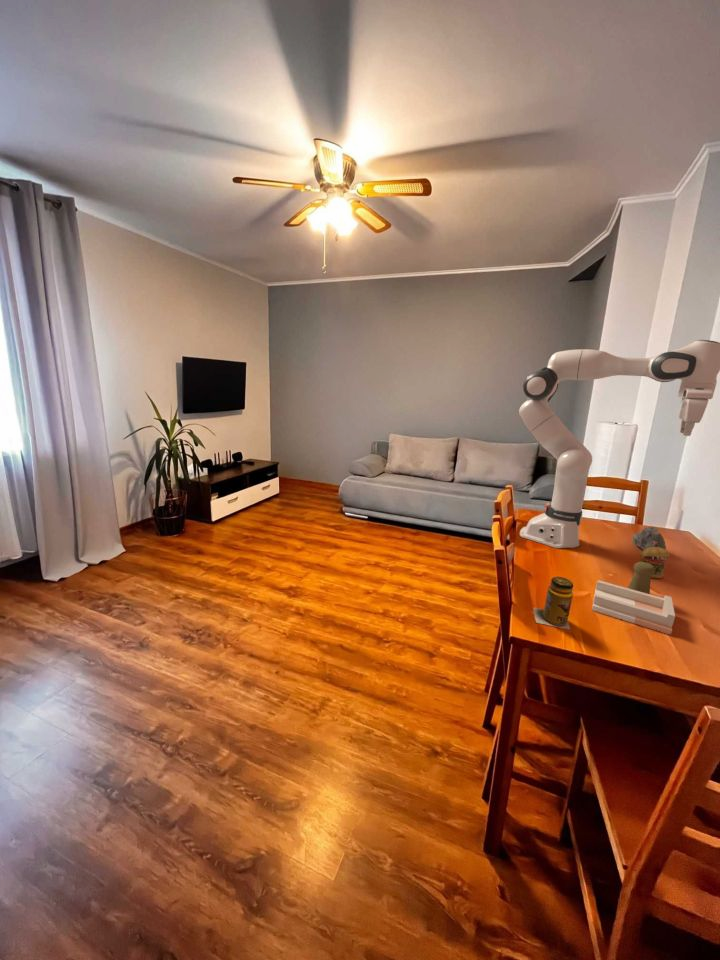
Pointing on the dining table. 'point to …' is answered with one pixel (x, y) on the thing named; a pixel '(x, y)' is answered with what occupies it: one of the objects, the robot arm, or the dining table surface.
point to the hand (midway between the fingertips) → (684, 434)
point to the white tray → (634, 606)
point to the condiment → (556, 604)
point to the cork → (642, 577)
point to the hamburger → (655, 559)
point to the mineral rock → (649, 538)
